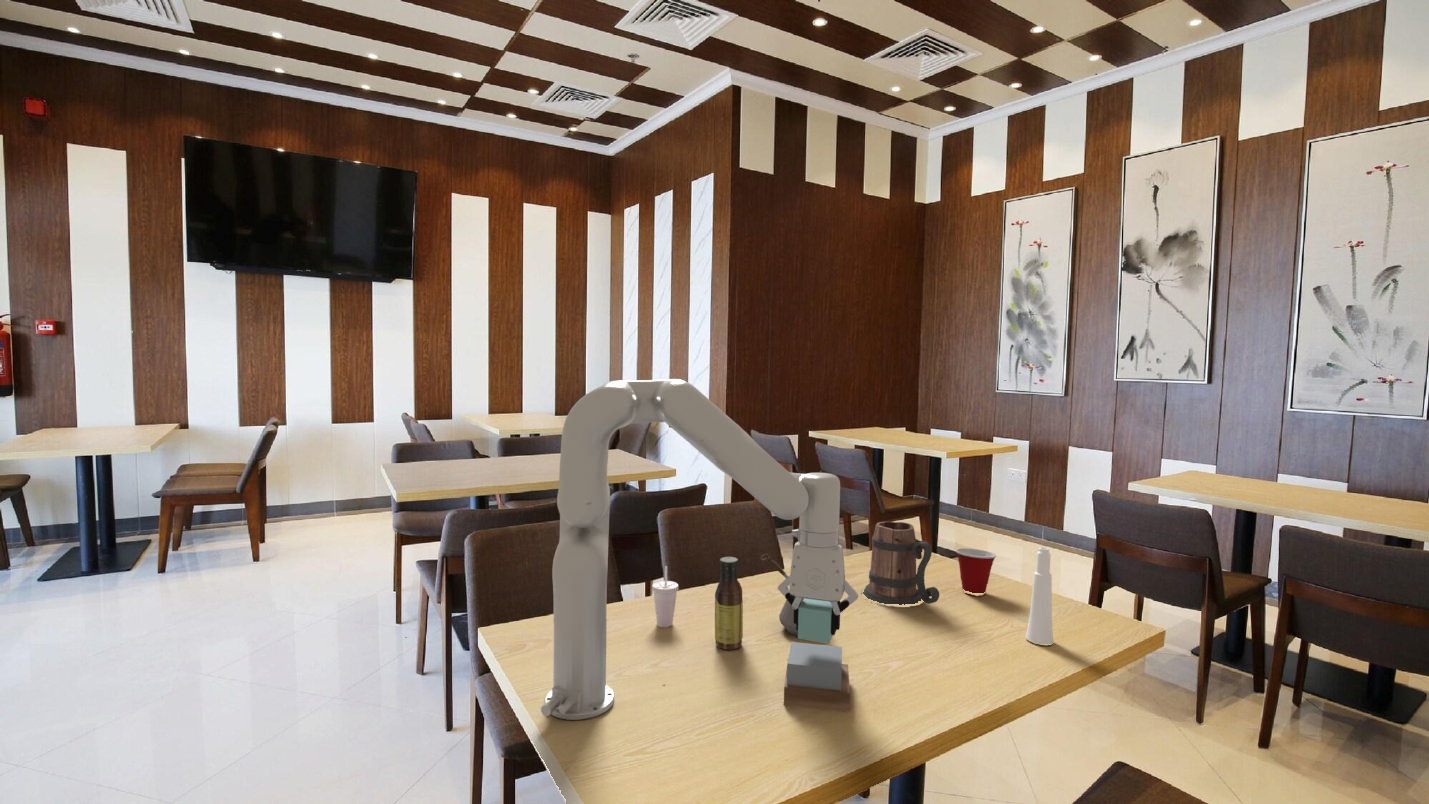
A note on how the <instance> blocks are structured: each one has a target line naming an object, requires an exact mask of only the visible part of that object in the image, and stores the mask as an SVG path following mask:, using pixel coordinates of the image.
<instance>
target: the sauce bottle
mask: <svg viewBox="0 0 1429 804" xmlns="http://www.w3.org/2000/svg"><path fill="white" fill-rule="evenodd" d="M719 566H720V576H719V577H720V578H719V581H718V583H717V586H716V590H715V593H714V640H715V641H714V642H715V645H716V646H717V647H718V648H719V649H722V650H727V651H728V650H729V651H733V650H735V649H736V650H737V649H739V648H740V647H742V644H743V638H744V635H743V634H744V630H743V629H744V626H743V625H744V623H743V621H744V619H743V617H744V616H743V614H744V605H743V604H744V603H743V602H744V600H743V599H744V598H743V588H742V585H741V583H740V581H739V580H738V578H739V577H738V566H739V559H738V558H737V557H734V556H724V557H721V558H720V559H719Z"/></svg>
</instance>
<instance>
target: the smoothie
mask: <svg viewBox="0 0 1429 804" xmlns="http://www.w3.org/2000/svg"><path fill="white" fill-rule="evenodd" d="M651 587H652V588H651V590H652V591H653V598H654V599H653V600H654V607H655V615H656V616H655V617H656V618H655V619H656V625H657V627H660V628H668V627H669V626H670V627H671V626H673V622H674V616H675V615H674V614H675V609H676V607H675V606H676V600H677V595H678V594H677V593H678V591H679V589H680V588H679V584H678V583H677V582H676V581H671V580H668V566H667V565H666V566H664V580H659V581H656V582H654V583H653V584H652V586H651Z"/></svg>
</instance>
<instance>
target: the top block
mask: <svg viewBox="0 0 1429 804" xmlns="http://www.w3.org/2000/svg"><path fill="white" fill-rule="evenodd" d="M787 662H788V663H787V664H786V670H787V685H796V686H805V687H814V688H823V689H832V690H841V676H842V664H843V646H836V645H827V644H818V643H817V644H816V643H807V642H806V643H805V642H797V641H791V643H790V648H789V653H788V659H787Z"/></svg>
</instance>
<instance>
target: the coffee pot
mask: <svg viewBox="0 0 1429 804" xmlns="http://www.w3.org/2000/svg"><path fill="white" fill-rule="evenodd" d="M763 556H764V557H765V558H763ZM760 559H761V560H762V561H765V560H767V561H768V562H770V563H771V565H772V567H773V568H774V569H775V570H776V571H778V572H779V573H780V574H781V575H782V577H784V578H785V579H786V578H787V577H788V576H789V575H788V574H787V573H786V572H785V571H784V569H783V568H782V567H781V566H780V565H779V563H778V562H776V561H775V560H773V557H771V556H770V555H769V554H768V553H766V552H765V553H764V554H762V555H761V556H760ZM803 599H804V598H803ZM803 599H802V601H803ZM802 601H801V603H802ZM778 619H779V622H780V624H781V625H782V626H783V628H784V629H786V631H787V632H788V633H790V634H792V635H794V636H798V630H796V624H794V609H793V608H792V605H791V604H790V603H789V602H788V601H787V599H786V600H785V602H784V604H783V606H782V609H781V610H780V613H779V615H778Z"/></svg>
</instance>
